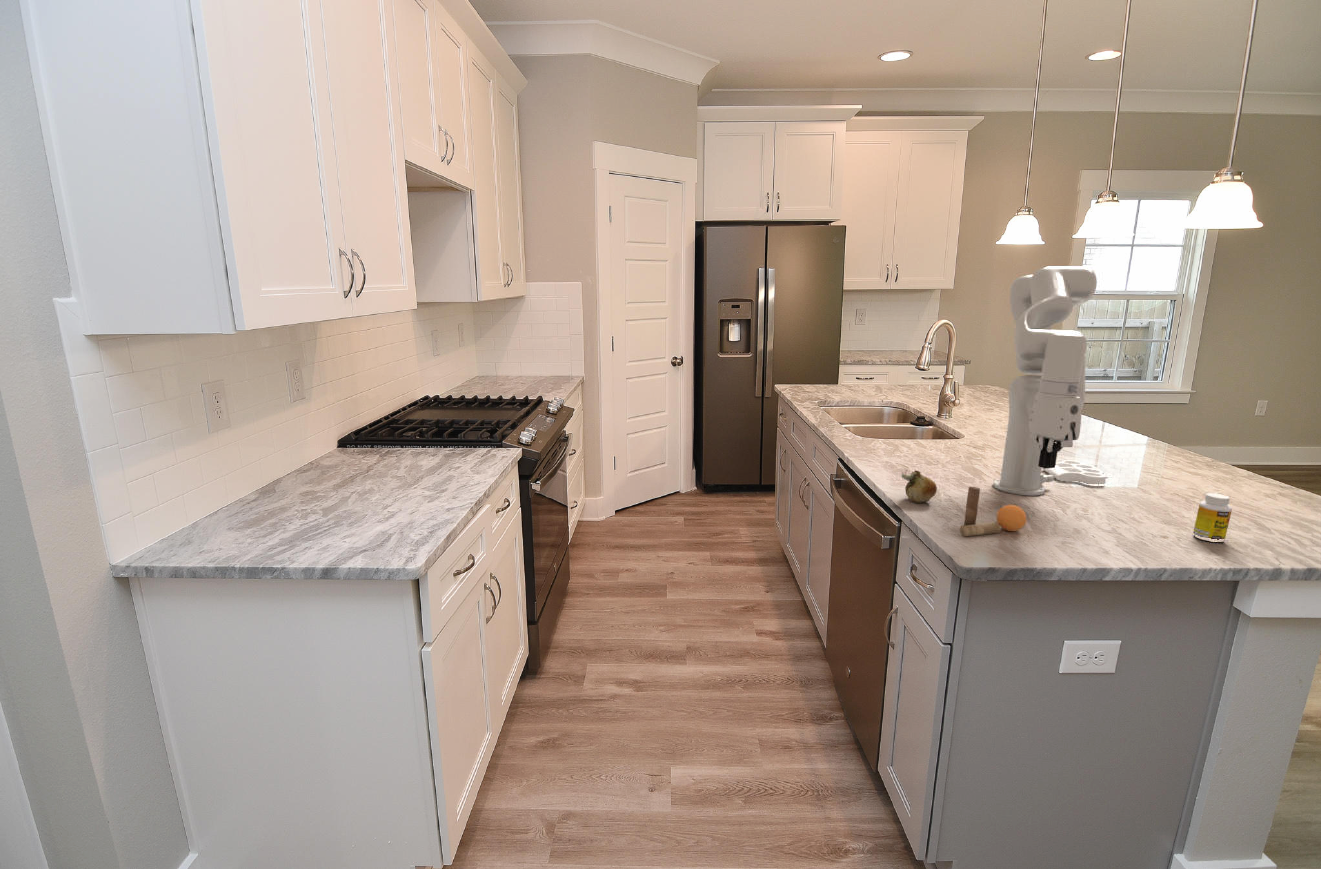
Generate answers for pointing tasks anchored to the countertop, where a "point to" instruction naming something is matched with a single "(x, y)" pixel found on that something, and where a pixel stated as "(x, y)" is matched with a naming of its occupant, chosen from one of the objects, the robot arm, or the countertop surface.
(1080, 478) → the white egg tray
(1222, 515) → the supplement bottle
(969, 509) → the walnut pin
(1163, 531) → the countertop surface
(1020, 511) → the ball
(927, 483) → the onion
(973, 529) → the maple pin
